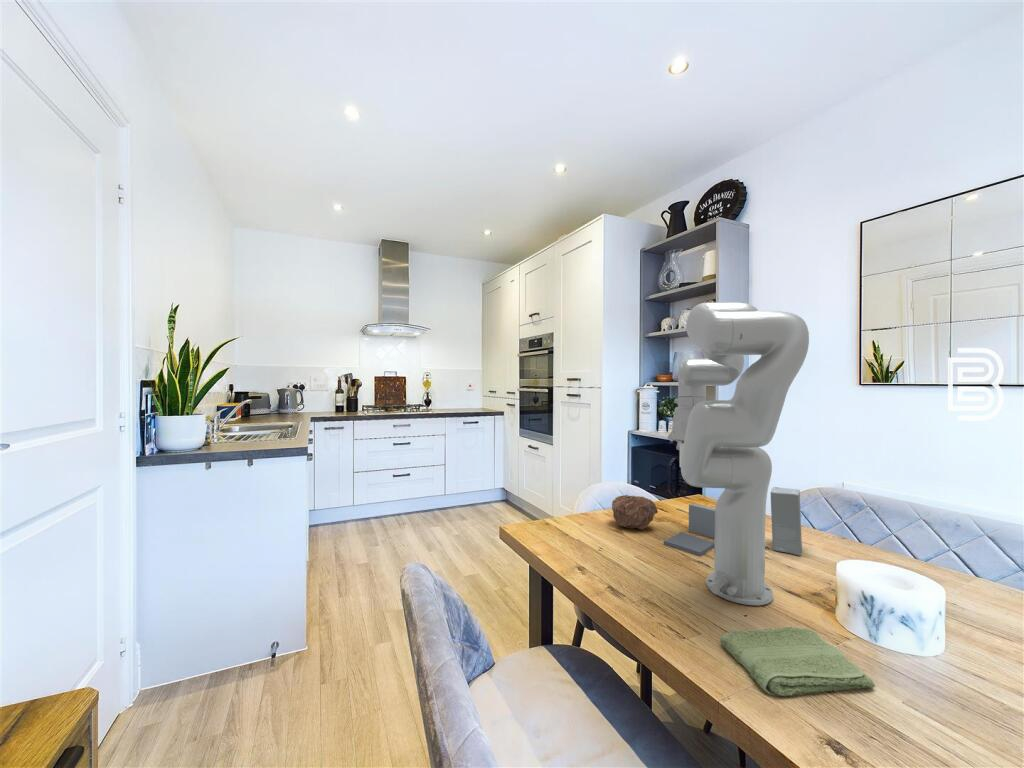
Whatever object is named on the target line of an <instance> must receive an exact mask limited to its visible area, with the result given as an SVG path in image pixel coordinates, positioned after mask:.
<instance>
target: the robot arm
mask: <svg viewBox="0 0 1024 768" xmlns="http://www.w3.org/2000/svg"><path fill="white" fill-rule="evenodd" d="M685 326H686V327H685V328H686V334H687V337H688V338H689V339H690V341H692V343H694V344H695V345H696V346H698V347H699V348H700V350H701V352H702V353H703V355H704V358H686V359H684V360H683V361H681V362H680V363H678V364H679V365H678V369H677V370H678V372H677V373H678V374H677V375H678V377H677V378H678V379H677V380H678V382H677V383H678V388H677V389H678V390H677V391H678V394H677V395H678V396H677V398H675V399H674V400H673V401H674V404H677V406H676V407H675V408H674V411H673V415H672V416H673V417H672V425H671V427H672V428H671V432H670V433H669V434H668V435H667V439H668V440H669V441H670V442H671V443H672V445H673V446H674V447H675V448H676V450H677V459H678V464H679V465H680V443H684V446H683V451H682V457H681V467H680V472H681V476H682V478H683V481H685V483H686V484H687V485H689V486H691V487H695V488H703V489H706V488H707V489H724V490H723V491H722V493H721V494H720V496H719V497H718V499H717V501H716V503H715V507H714V509H715V539H714V541H713V542H714V548H713V549H714V550H713V551H714V554H713V559H714V560H713V562H714V563H713V565H714V566H713V572H712V573H709V574H708V575H706V578H705V583H706V587H707V588H708V590H710V591H711V593H712V594H713V595H716V596H718V597H719V598H722V599H724V600H727V601H730V602H732V603H736V604H740V605H746V606H757V607H758V606H765V605H768V604H770V603H771V602H772V601H773V599H774V592H773V589H772V588H771V587H770V586H768V585H767V584H766V583H765V570H766V569H765V564H766V563H765V562H766V513H767V512H766V511H767V499H768V497H767V496H768V492H769V491H768V490H769V486H770V482H771V477H772V469H773V464H772V460H771V458H770V455H769V454H768V453H767V452H766V451H765V450H764V449H762V447H764V446H767V445H769V443H771V442H772V440H773V438H774V436H775V433H776V429H777V427H778V424H779V421H780V416H781V414H782V411H783V407H784V404H785V402H786V397H787V394H788V391H789V389H790V387H791V385H792V383H793V382H794V380H795V378H796V376H797V375H798V374H799V372H800V370H801V368H802V366H803V365H804V362H805V360H806V357H807V354H808V351H809V345H810V332H809V327H808V325H807V322H806V321H805V320H804V319H803V318H802V317H801V316H800V315H798V314H795V313H792V312H788V311H781V310H759V309H758V308H757V307H756V306H754V305H753V304H750V303H746V302H740V301H739V302H738V301H731V302H730V301H729V302H728V301H727V302H726V301H725V302H702V303H699V304H696V305H695V306H694V307H692V309H691V311H690V312H689V314H688V316H687V318H686V325H685ZM745 356H760V358H759V359H757V360H756V361H755V362H753V363H752V364H750V366H749V367H746V369H745V371H744V370H743V369H744V366H745ZM743 371H744V372H743ZM742 372H743V373H742ZM736 380H737V381H736ZM735 381H736V386H735V389H734V393H733V395H732V397H731V398H730V399H727V400H725V399H724V400H721V399H720V400H717V399H714V400H711V399H710V400H707V386H715V387H716V386H718V387H719V386H728V385H731V384H732V383H734V382H735Z"/></svg>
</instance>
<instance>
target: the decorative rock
mask: <svg viewBox="0 0 1024 768" xmlns="http://www.w3.org/2000/svg"><path fill="white" fill-rule="evenodd" d="M611 510H612V513H613V514H612V516H613V519H614V520H615V523H616V525H617V526H621V527H624V528H627V529H638V530H640V531H642V530H644V529H646V528H647V527H648V526H649V524H650V523H651V522H652V521H653V520H654V517H655V514H657V513H658V512H659V511H658V509H657V506H656V503H654V502H653V500H652V499H649V498H647V497H645V496H639V495H638V496H635V495H628V494H624V495H619V496H617V497H615V498H614V499H613V500H612V502H611Z"/></svg>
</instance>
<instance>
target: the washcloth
mask: <svg viewBox="0 0 1024 768" xmlns="http://www.w3.org/2000/svg"><path fill="white" fill-rule="evenodd" d="M719 643H720V644H721V645H720V646H722V647H723V648H725V650H726V651H727V652H728V653H729V654H731V656H732V657H733V658H734V659H735V660H736V662H737V663H738V664H740V665H742V667H744V669H745V670H746V671H747V672H749V675H750V677H751V678H752V679H753V680H755V681H756V683H757V685H759V687H760V689H761V690H762V691H764V692H765V693H767V694H768V695H771V696H774V697H775V696H780V697H789V696H803V695H805V694H807V695H812V694H819V693H824V692H832V691H834V692H835V693H836V692H837V691H843V690H847V691H849V690H851V689H852V690H853V689H856V690H857V689H858V690H860V689H867V688H870V689H873V688H875V687H876V685H875V684H876V683H875V682H874V681H873V679H872V678H871V677H870V676H868V675H867V674H865V672H864V671H863V670H862V669H861V668H860V667H859V666H857V665H856V664H855V663H853V662H852V661H851V660H849V659H848V658H847V657H846V656H845V655H844V653H843V652H842V651H841V650H840V649H839V648H838V647H837V646H835V645H833V644H830V643H829V642H827V641H826V640H824V639H823V638H822V636H821V635H820V634H819V633H818V632H817V631H814V630H812V629H810V628H809V629H808V628H805V627H804V628H801V627H792V626H786V627H781V628H780V627H778V628H776V627H775V628H766V629H765V628H764V629H747V628H746V629H745V630H742V629H739V630H730V631H728V632H724V633H723V634H722V635H721V636H720V637H719Z"/></svg>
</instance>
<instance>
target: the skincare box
mask: <svg viewBox="0 0 1024 768" xmlns="http://www.w3.org/2000/svg"><path fill="white" fill-rule="evenodd" d="M801 514H802V513H801V490H800V489H798V488H796V489H795V488H785V487H776V486H773V487H772V488H771V490H770V516H771V533H772V535H771V536H772V539H771V540H772V541H771V542H772V550H773V551H776V552H783V553H787V554H791V555H796V556H799V557H801V556H802V554H803V553H802V552H803V542H802V541H803V540H802V539H803V538H802V522H801V521H802V520H801V519H802V518H801Z"/></svg>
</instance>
